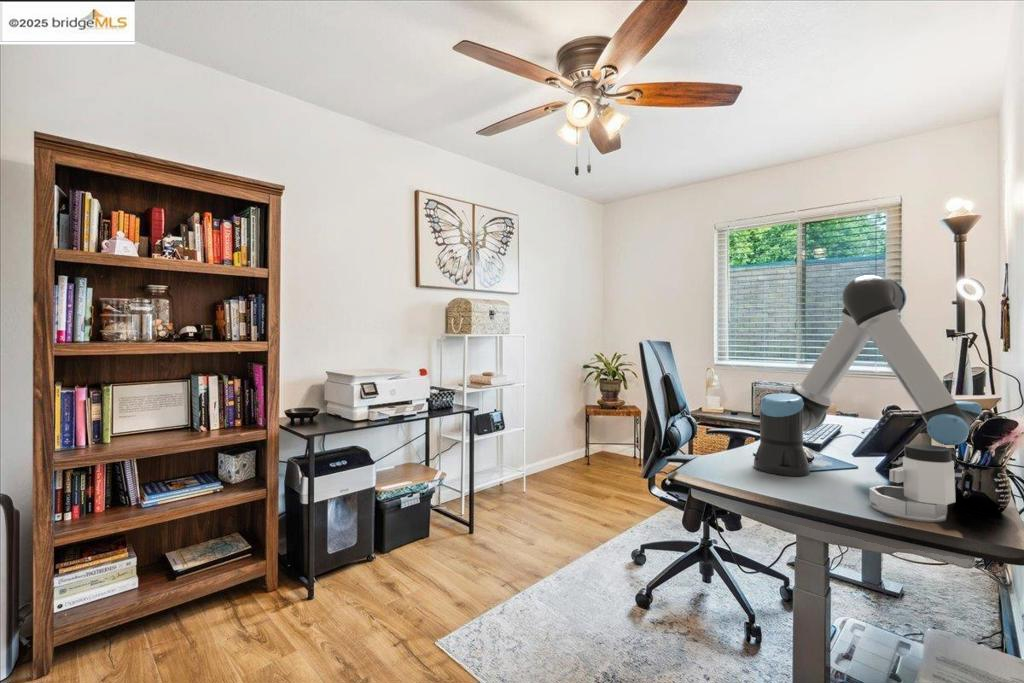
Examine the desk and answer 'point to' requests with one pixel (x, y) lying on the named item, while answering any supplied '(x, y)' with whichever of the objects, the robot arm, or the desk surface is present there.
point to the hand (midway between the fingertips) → (893, 476)
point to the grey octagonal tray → (904, 505)
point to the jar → (929, 474)
